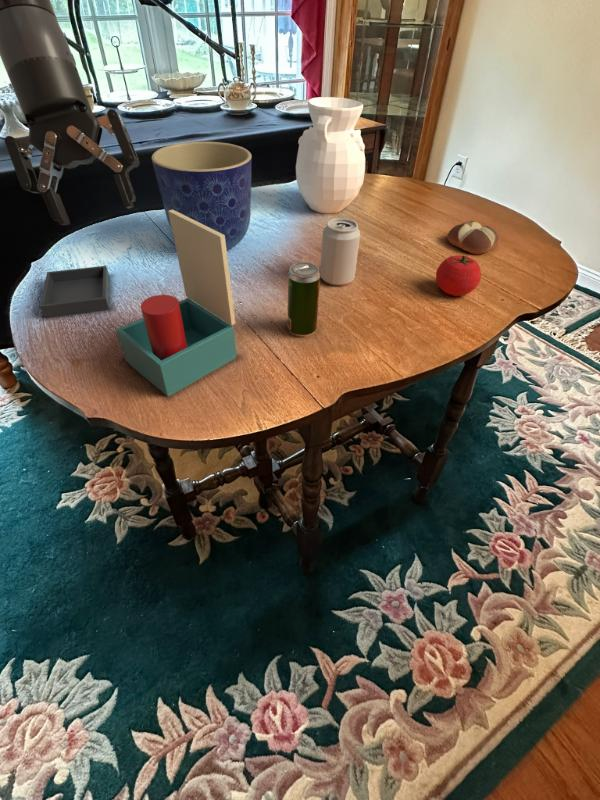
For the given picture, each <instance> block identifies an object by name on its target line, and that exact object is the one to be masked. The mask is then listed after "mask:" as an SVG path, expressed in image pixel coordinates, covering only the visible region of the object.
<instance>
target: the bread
mask: <svg viewBox="0 0 600 800" xmlns="http://www.w3.org/2000/svg"><path fill="white" fill-rule="evenodd" d="M446 238H447V240H448V242H449V243H450V244H451V245H453V246H455V247H457V248H459V249H461V250H462V251H466V252H468V253H469V254H475V255H481V254H485V253H487V252H489V251H491V250H493V248H494V247H496V246H497V244H498V242H499V236H498V233H497V232H496V230H495V229H494V228H492V227H491V226H489V225H483V226H482V225H481V223H479V222H478V221H475V220H471V221H465V222H463V223H460V224H457V225H455V226H453V227H452V228H451V229H450V230H449V231H448V233H447V237H446Z"/></svg>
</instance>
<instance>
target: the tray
mask: <svg viewBox="0 0 600 800" xmlns="http://www.w3.org/2000/svg"><path fill="white" fill-rule="evenodd" d="M109 273H110V272H109V270H108V267H107V265H100V266H99V265H98V266H90V267H80V268H74V269H73V268H72V269H62V270H53V271H47V272H46V276H45V280H44V285H43V290H42V294H41V299H40V304H39V309H40V310H41V312H42V314H43V317H44V319H51V318H59V317H66V316H74V315H75V316H76V315H81V314H90V313H96V312H97V313H98V312H104V311H105V312H106V311H110V310H111V309H110V308H111V307H110V304H111V303H110V302H111V301H110V300H111V299H110V297H111V296H110V293H111V291H110V289H111V288H110V287H111V286H110V285H111V282H110V281H111V280H110V278H111V276H110V274H109Z"/></svg>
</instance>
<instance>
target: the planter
mask: <svg viewBox="0 0 600 800" xmlns="http://www.w3.org/2000/svg"><path fill="white" fill-rule="evenodd" d="M252 159H253V157H252V153H251V152H250V151H249V150H248V149H246V148H244V147H243V146H239V145H236V144H232V143H228V142H227V143H226V142H221V141H220V142H219V141H189V142H180V143H174V144H170V145H167V146H164V147H160V148H159V149H157V150H155V152H154V153H152V155H151V162H152V166H153V169H154V174H155V178H156V182H157V185H158V189H159V193H160V197H161V202H162V205H163V208H164V212H165V216H166V220H167V222H168V225H169V227H170V230H171V231H172V227H171V223H170V218H169V213H168V211H169V210H175V211H177V212H179V213H181V214H183V215H185V216H187V217H189V218H191V219H193V220H195V221H197V222H199V223H201V224H203V225H205V226H207V227H209V228H211V229H213V230H215V231H217V232H219V233H221V234H223V235H225V242H226V250H229V249H231V248H233V247H235V246H237V245H238V244H239V243H240V242H241V241H243V239H244V238H245V236H247V235H246V234H247V233H248V230H249V226H250V222H251V215H252V214H251V213H252V207H251V206H252V162H253V160H252Z"/></svg>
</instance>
